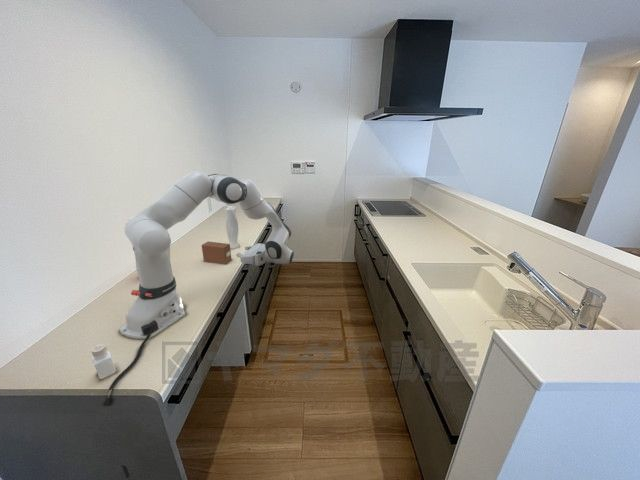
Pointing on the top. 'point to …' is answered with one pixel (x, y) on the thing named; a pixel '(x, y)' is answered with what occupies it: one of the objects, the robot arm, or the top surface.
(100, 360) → the pepper shaker
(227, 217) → the white baluster column
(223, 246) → the reddish brown block
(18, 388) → the top surface
